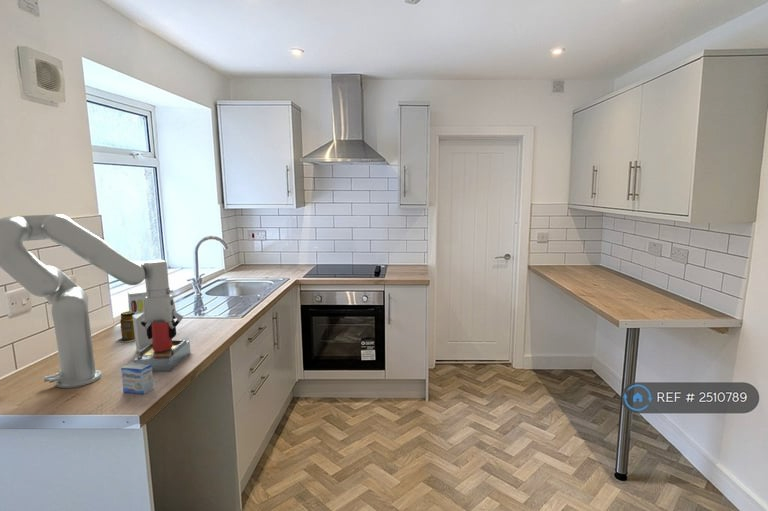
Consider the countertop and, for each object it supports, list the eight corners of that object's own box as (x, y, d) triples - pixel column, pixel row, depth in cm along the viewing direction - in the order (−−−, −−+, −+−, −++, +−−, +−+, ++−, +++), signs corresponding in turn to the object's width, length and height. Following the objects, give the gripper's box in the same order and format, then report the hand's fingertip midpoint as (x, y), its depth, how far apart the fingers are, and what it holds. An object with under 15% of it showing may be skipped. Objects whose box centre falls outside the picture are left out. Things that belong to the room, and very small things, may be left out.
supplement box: (131, 327, 196) (127, 294, 193) (129, 322, 203) (126, 290, 201) (153, 323, 201) (150, 291, 199) (151, 319, 209) (148, 287, 206)
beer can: (167, 344, 159) (166, 315, 157) (175, 349, 155) (174, 319, 153) (149, 348, 154) (148, 319, 152) (157, 354, 150) (155, 323, 148)
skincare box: (157, 345, 173) (154, 310, 170) (162, 349, 168) (159, 313, 166) (135, 350, 167) (131, 314, 164) (139, 355, 162) (135, 318, 160)
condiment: (142, 335, 185) (139, 310, 183) (131, 342, 176) (128, 316, 174) (126, 335, 184) (123, 310, 183) (114, 342, 176) (111, 316, 174)
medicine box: (122, 392, 131) (120, 367, 130) (133, 386, 136) (130, 362, 134) (144, 394, 130) (141, 369, 129) (154, 388, 134) (151, 363, 133)
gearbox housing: (170, 371, 147) (168, 354, 146) (135, 372, 146) (133, 355, 145) (190, 352, 165) (189, 337, 164) (159, 353, 164) (157, 337, 163)
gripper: (185, 290, 155) (189, 333, 158) (139, 290, 154) (143, 334, 157) (177, 294, 148) (181, 340, 151) (128, 295, 147) (133, 341, 149)
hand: (162, 337), depth 154 cm, fingers open, 7 cm apart
